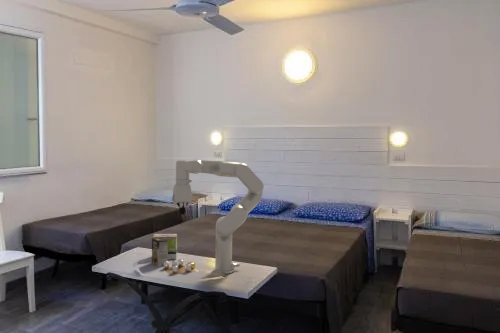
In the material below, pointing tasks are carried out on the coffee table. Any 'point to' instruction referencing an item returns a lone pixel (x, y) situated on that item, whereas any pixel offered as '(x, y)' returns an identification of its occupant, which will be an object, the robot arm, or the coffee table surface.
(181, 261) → the spacers
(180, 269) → the board
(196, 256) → the coffee table surface
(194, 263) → the brass domed cylinder
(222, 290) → the coffee table surface
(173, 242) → the tea box
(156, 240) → the coffee box
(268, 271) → the coffee table surface
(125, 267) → the coffee table surface
